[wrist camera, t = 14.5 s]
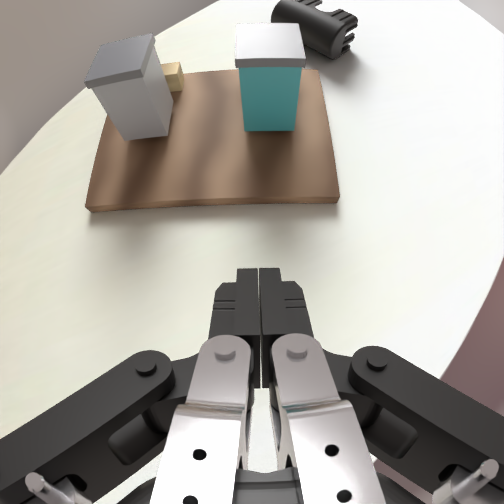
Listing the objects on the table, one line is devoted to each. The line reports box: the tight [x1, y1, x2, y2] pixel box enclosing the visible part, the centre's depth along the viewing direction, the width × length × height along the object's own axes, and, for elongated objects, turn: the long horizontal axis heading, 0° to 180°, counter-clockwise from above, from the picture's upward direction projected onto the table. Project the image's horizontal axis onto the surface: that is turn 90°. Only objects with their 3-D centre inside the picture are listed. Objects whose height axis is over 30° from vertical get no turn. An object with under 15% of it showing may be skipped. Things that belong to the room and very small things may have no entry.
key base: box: [85, 62, 340, 212], centre depth 31 cm, size 26×18×4 cm
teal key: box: [235, 23, 306, 131], centre depth 26 cm, size 5×5×10 cm
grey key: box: [84, 33, 173, 141], centre depth 27 cm, size 5×5×10 cm
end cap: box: [271, 0, 358, 59], centre depth 35 cm, size 10×7×7 cm
